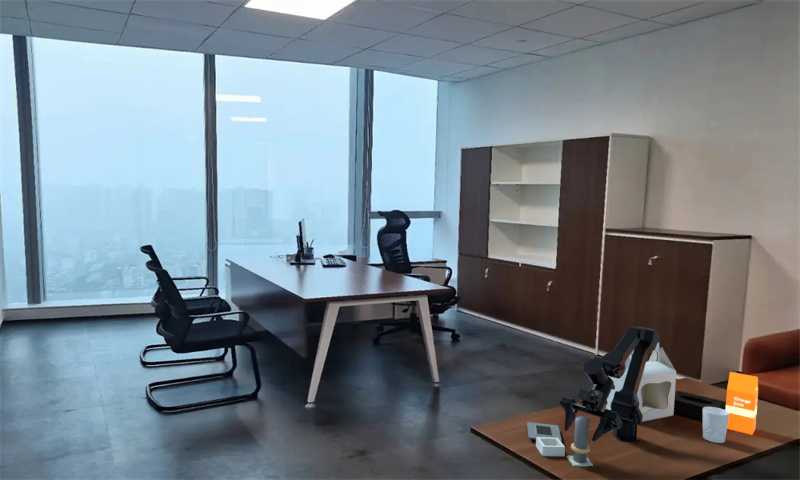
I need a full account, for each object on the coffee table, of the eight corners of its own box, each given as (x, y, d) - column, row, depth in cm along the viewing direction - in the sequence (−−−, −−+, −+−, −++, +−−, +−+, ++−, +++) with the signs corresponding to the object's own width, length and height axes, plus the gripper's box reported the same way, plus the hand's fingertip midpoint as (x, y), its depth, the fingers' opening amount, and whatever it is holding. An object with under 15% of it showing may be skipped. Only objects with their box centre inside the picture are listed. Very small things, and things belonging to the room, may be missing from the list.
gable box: (645, 404, 222) (649, 335, 220) (674, 415, 210) (679, 343, 209) (605, 411, 212) (609, 339, 210) (633, 423, 200) (637, 348, 199)
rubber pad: (585, 457, 171) (585, 455, 171) (593, 466, 165) (593, 464, 165) (566, 457, 170) (566, 455, 170) (573, 466, 164) (573, 464, 164)
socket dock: (557, 446, 178) (557, 437, 178) (564, 456, 171) (565, 447, 171) (535, 446, 178) (536, 437, 177) (542, 455, 171) (542, 446, 170)
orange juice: (727, 422, 205) (731, 369, 204) (755, 428, 200) (759, 374, 198) (723, 428, 199) (727, 373, 198) (752, 435, 194) (756, 379, 192)
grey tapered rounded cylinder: (581, 455, 171) (583, 414, 170) (593, 463, 166) (596, 421, 165) (566, 457, 169) (568, 415, 168) (578, 465, 164) (580, 422, 163)
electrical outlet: (561, 447, 179) (561, 439, 179) (528, 443, 181) (528, 436, 181) (557, 431, 192) (558, 424, 192) (526, 427, 194) (527, 421, 194)
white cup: (724, 436, 191) (726, 408, 191) (729, 445, 184) (731, 416, 183) (698, 432, 194) (700, 405, 193) (703, 441, 186) (705, 412, 186)
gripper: (563, 370, 176) (542, 412, 169) (620, 386, 162) (599, 431, 155) (575, 390, 181) (555, 430, 175) (630, 406, 168) (611, 451, 161)
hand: (578, 435), depth 166 cm, fingers open, 9 cm apart
